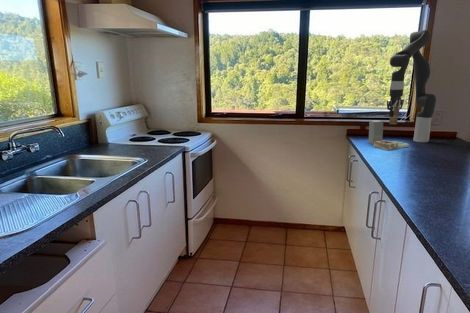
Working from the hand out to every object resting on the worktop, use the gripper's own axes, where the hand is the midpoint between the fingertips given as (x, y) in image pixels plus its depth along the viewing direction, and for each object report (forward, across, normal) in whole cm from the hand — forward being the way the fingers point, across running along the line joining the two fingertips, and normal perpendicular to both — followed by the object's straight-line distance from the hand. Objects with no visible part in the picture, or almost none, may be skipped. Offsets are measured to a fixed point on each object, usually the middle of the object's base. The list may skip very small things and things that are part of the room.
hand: (393, 116), depth 204 cm
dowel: (+5, 0, 0) cm, 5 cm away
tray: (+21, -6, 0) cm, 21 cm away
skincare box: (+21, -1, -13) cm, 24 cm away
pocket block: (+20, +5, 0) cm, 21 cm away
